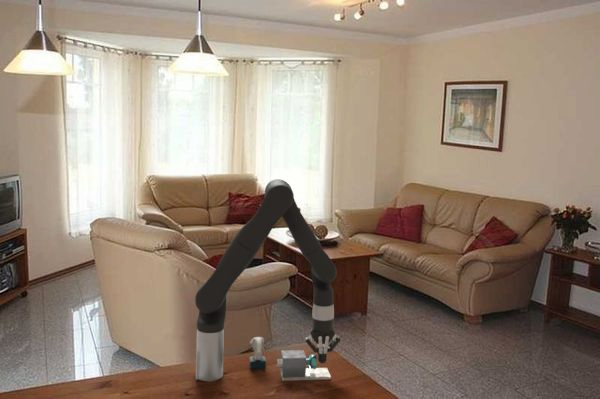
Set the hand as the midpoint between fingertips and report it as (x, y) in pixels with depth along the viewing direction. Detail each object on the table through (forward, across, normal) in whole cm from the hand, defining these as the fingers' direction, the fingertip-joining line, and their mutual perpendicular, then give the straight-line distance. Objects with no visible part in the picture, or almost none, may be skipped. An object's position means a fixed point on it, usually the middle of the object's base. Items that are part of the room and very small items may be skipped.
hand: (322, 362), depth 195 cm
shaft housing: (+4, -6, 0) cm, 8 cm away
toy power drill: (+4, -22, +7) cm, 24 cm away
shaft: (+2, -9, 0) cm, 9 cm away
